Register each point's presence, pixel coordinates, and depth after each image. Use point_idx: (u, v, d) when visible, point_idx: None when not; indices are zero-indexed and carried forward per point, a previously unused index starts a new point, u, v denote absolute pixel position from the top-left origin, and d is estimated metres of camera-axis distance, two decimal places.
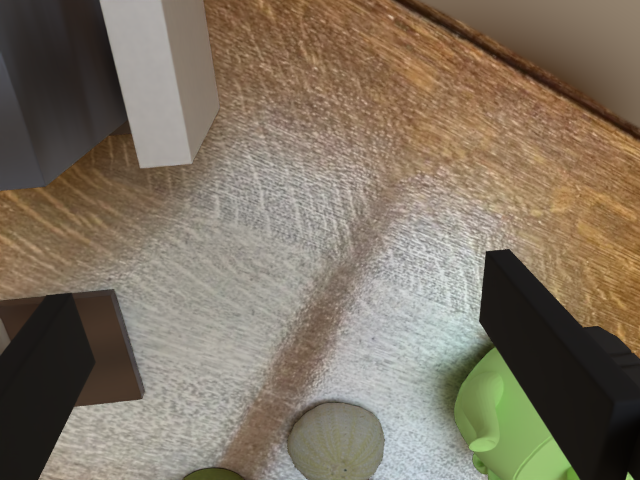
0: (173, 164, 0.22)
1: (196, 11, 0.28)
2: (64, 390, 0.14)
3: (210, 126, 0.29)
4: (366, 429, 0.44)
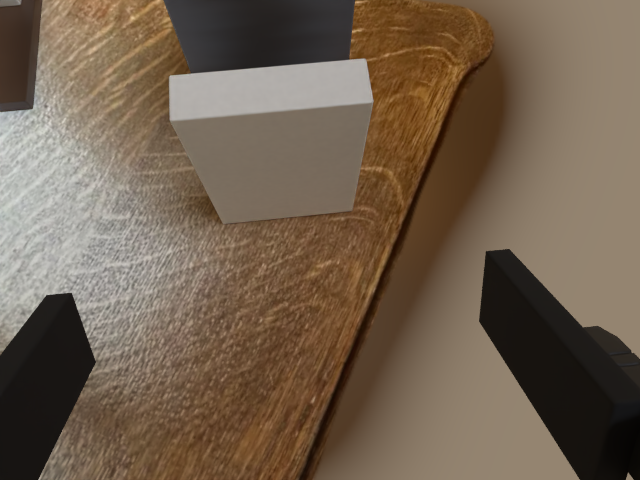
0: (170, 104, 0.21)
1: (312, 193, 0.30)
2: (64, 390, 0.14)
3: (205, 189, 0.28)
4: None
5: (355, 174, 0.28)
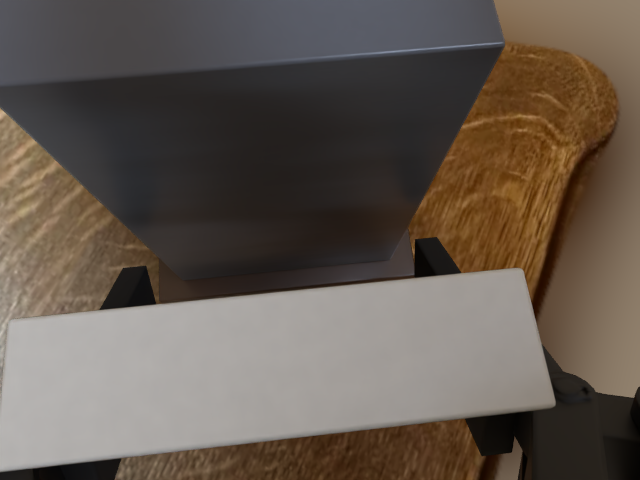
0: (1, 414, 0.08)
1: None
2: None
3: None
4: None
5: None
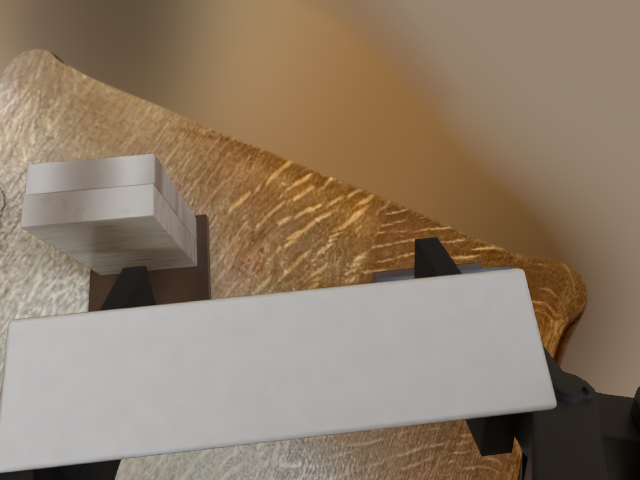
0: (2, 415, 0.08)
1: None
2: None
3: None
4: None
5: None
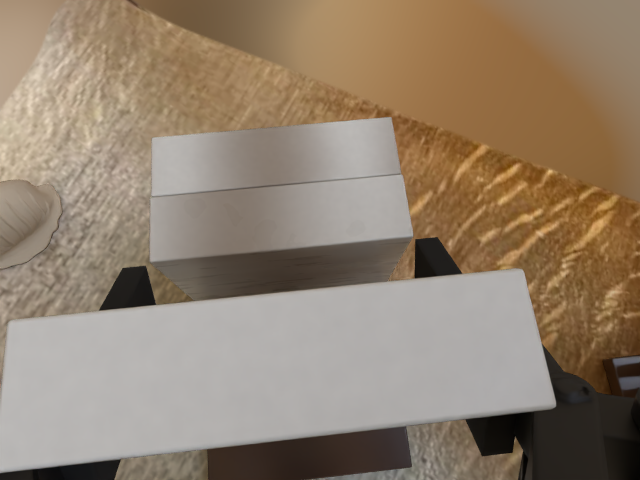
0: (0, 415, 0.08)
1: None
2: None
3: None
4: None
5: None
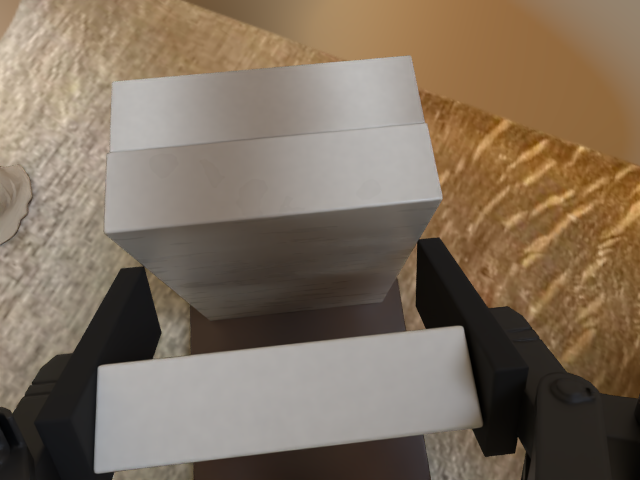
0: (96, 433, 0.11)
1: None
2: (142, 354, 0.15)
3: None
4: None
5: None
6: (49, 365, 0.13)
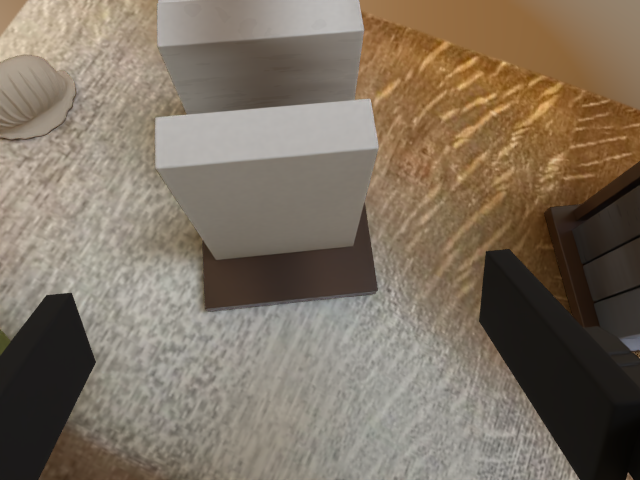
0: (156, 149, 0.20)
1: (310, 231, 0.28)
2: (64, 390, 0.14)
3: (196, 230, 0.26)
4: None
5: (357, 213, 0.26)
6: None
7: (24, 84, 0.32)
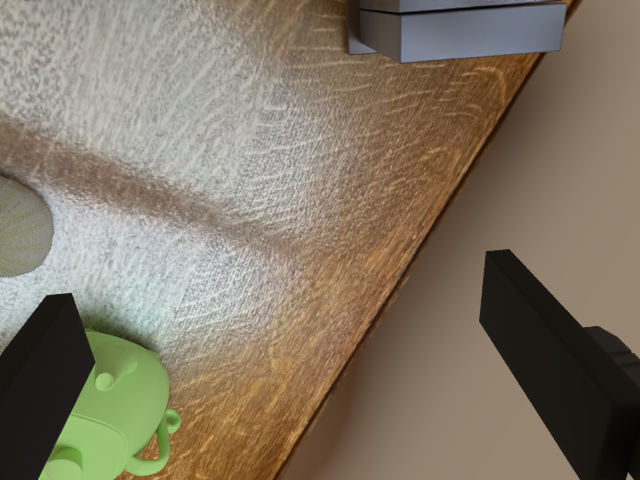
0: None
1: None
2: (64, 390, 0.14)
3: None
4: (35, 259, 0.42)
5: None
6: None
7: None
